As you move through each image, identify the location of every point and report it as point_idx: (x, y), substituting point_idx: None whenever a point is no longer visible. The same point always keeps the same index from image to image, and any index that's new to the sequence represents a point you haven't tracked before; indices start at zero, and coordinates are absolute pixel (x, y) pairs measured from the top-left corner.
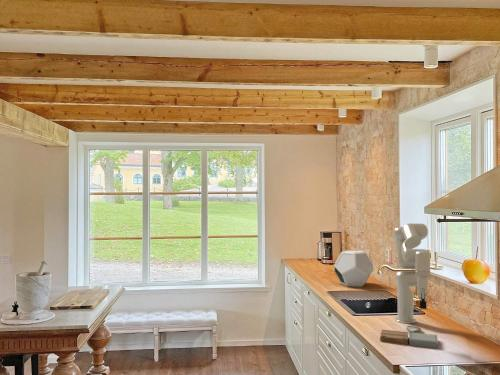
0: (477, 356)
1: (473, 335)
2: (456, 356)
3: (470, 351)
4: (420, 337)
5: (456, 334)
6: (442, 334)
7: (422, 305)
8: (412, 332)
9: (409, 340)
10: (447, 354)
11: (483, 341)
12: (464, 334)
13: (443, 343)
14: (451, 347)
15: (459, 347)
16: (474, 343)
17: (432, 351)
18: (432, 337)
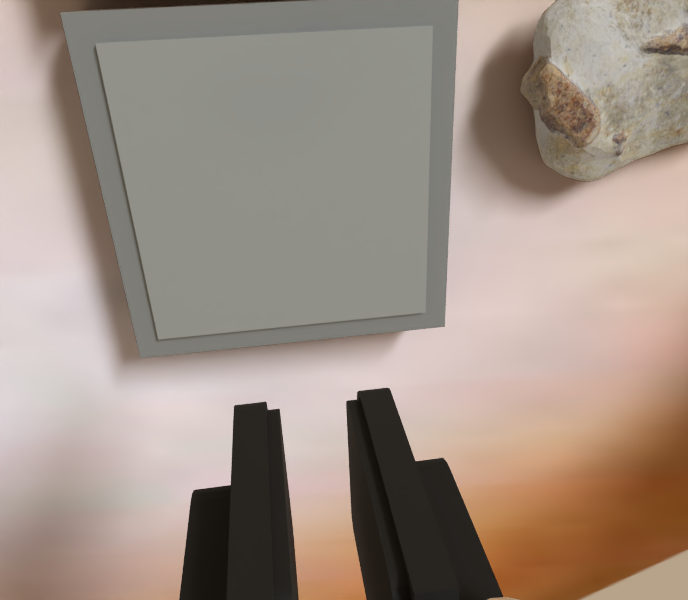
0: (109, 583)
1: (653, 529)
2: (3, 471)
3: None
4: (239, 163)
5: (663, 430)
6: (646, 331)
7: (193, 550)
8: (537, 29)
9: (62, 12)
10: (11, 408)
11: (512, 586)
12: (671, 479)
13: (350, 357)
14: None
15: None
16: None
17: (16, 282)
18: (306, 296)
